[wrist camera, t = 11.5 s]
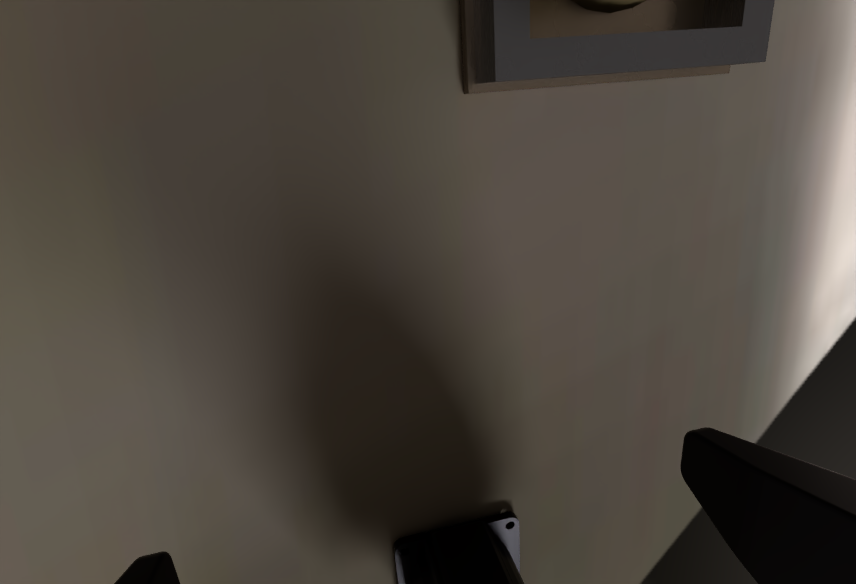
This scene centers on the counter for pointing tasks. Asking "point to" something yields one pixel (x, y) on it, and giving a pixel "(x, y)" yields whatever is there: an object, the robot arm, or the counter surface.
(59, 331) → the counter surface
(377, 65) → the counter surface
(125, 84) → the counter surface
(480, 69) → the socket block
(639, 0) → the cork
